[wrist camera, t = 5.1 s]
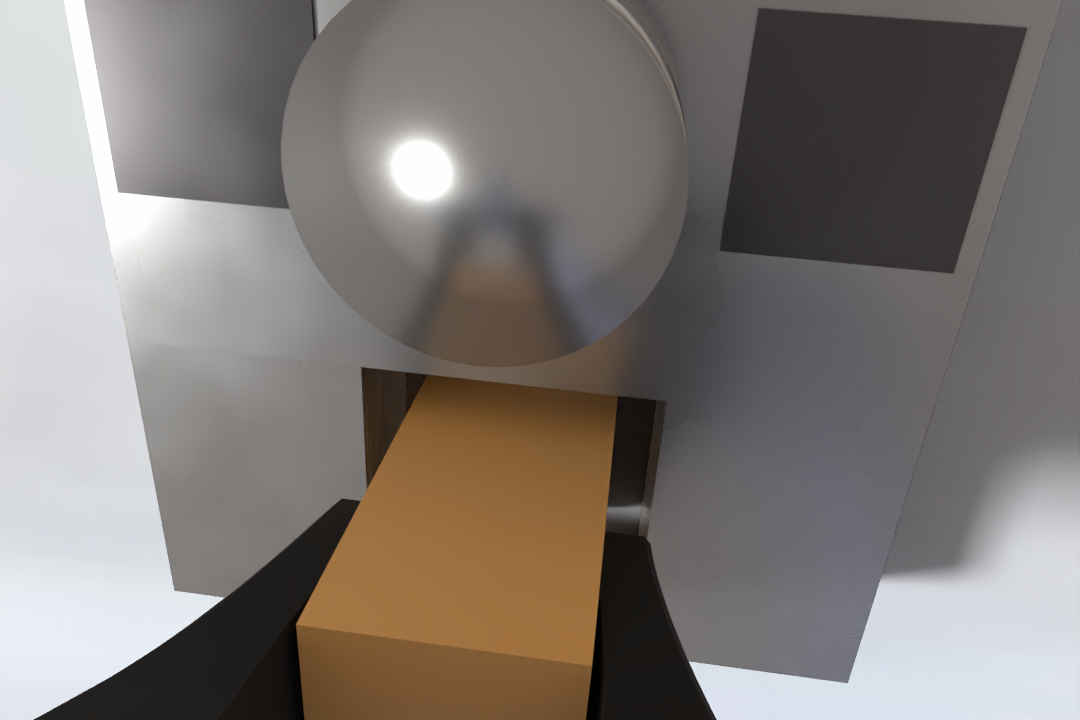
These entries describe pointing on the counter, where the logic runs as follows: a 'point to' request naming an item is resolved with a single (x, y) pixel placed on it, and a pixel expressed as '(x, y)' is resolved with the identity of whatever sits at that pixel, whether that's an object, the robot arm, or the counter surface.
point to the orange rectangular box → (468, 563)
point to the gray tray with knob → (560, 259)
